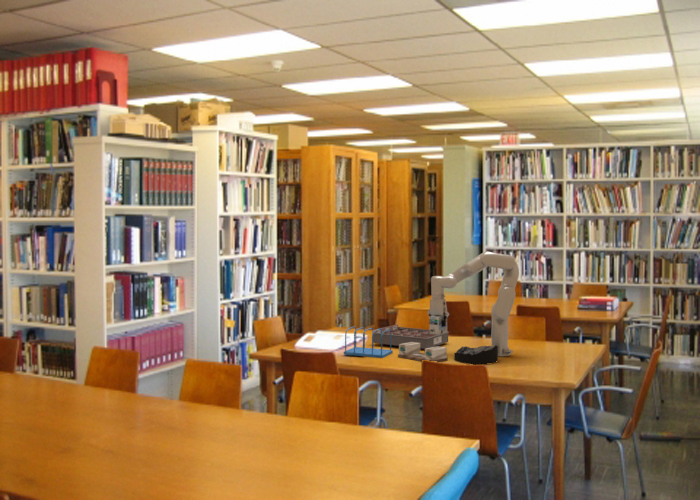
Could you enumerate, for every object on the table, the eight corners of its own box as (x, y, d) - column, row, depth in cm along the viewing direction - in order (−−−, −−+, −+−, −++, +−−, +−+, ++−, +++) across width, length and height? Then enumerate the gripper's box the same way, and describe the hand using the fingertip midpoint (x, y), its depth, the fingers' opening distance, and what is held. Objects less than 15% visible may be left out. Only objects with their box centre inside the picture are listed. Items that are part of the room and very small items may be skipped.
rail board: (447, 360, 409) (447, 347, 408) (431, 363, 399) (431, 350, 399) (413, 354, 428) (413, 341, 427) (397, 357, 418) (397, 344, 418)
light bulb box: (438, 334, 422) (438, 316, 421) (429, 334, 426) (428, 316, 425) (447, 332, 430) (447, 314, 430) (438, 331, 434) (437, 314, 434)
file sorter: (343, 355, 425) (343, 329, 425) (354, 350, 441) (354, 325, 440) (382, 358, 415) (382, 332, 415) (392, 353, 431) (392, 328, 431)
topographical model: (487, 355, 425) (487, 338, 425) (505, 363, 401) (505, 345, 401) (448, 357, 420) (448, 340, 419) (464, 365, 396) (464, 347, 395)
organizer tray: (426, 351, 437) (426, 335, 437) (371, 345, 460) (371, 329, 459) (449, 344, 464) (449, 328, 463) (396, 338, 486) (396, 323, 486)
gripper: (453, 296, 423) (453, 326, 424) (430, 295, 436) (431, 323, 437) (445, 298, 418) (445, 328, 419) (422, 296, 431) (423, 325, 432)
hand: (438, 325), depth 428 cm, fingers closed on light bulb box, 7 cm apart
